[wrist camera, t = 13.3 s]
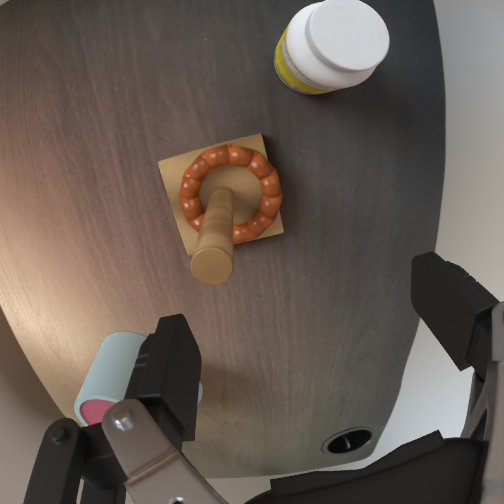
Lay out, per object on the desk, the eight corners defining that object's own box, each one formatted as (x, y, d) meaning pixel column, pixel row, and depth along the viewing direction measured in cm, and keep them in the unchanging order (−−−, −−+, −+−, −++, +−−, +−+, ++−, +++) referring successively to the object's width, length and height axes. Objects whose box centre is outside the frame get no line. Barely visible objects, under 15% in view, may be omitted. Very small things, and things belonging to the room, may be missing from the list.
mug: (115, 384, 37) (96, 442, 28) (90, 332, 33) (59, 391, 24) (212, 383, 37) (209, 448, 28) (198, 327, 33) (189, 397, 24)
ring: (168, 161, 25) (164, 164, 23) (266, 133, 24) (268, 134, 23) (199, 250, 28) (197, 257, 27) (289, 225, 28) (292, 232, 26)
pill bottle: (326, 24, 21) (377, -20, 11) (351, 85, 24) (416, 73, 14) (261, 41, 22) (278, -5, 12) (287, 104, 24) (322, 95, 14)
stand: (160, 160, 26) (93, 204, 13) (260, 133, 25) (286, 148, 13) (189, 251, 30) (160, 353, 17) (282, 228, 29) (318, 320, 16)
